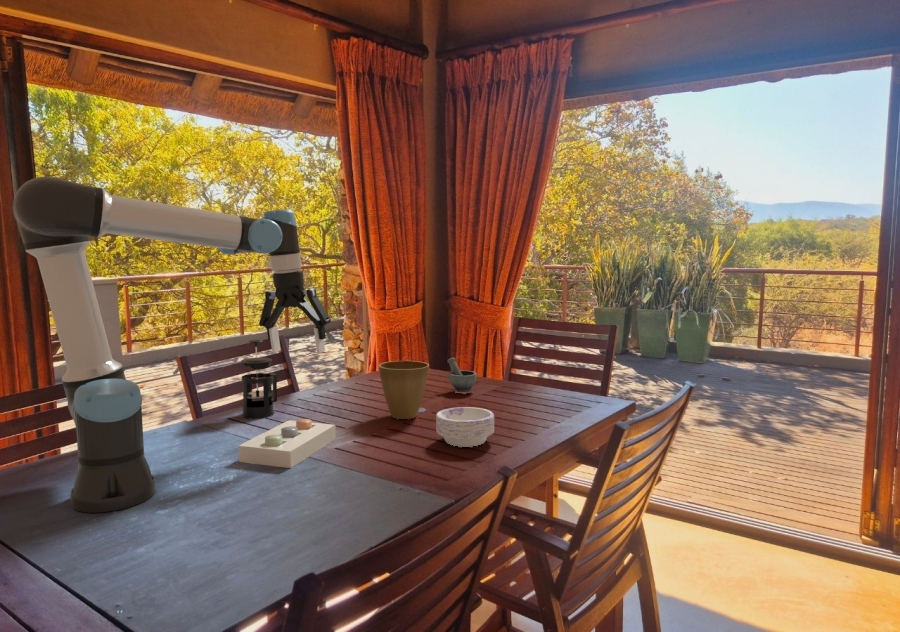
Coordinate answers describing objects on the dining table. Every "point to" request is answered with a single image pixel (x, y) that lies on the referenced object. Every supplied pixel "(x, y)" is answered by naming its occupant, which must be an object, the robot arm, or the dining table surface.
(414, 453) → the dining table surface
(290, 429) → the grey button
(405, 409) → the plant pot
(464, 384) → the mortar and pestle
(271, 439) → the sage button
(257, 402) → the french press
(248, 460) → the button panel
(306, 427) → the terracotta button
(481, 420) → the paper bowls
